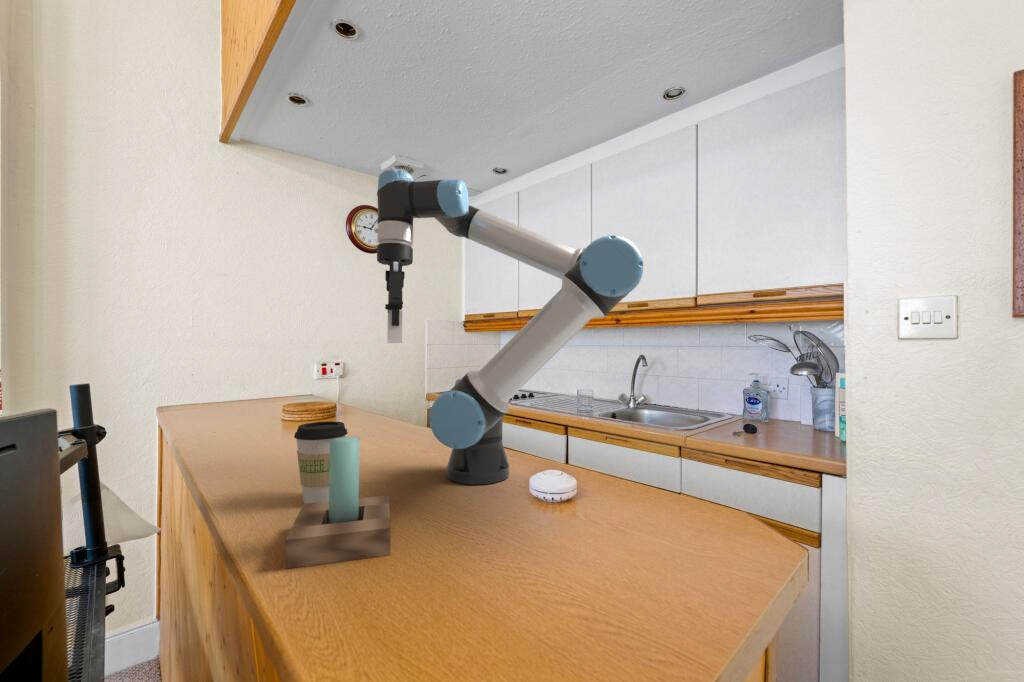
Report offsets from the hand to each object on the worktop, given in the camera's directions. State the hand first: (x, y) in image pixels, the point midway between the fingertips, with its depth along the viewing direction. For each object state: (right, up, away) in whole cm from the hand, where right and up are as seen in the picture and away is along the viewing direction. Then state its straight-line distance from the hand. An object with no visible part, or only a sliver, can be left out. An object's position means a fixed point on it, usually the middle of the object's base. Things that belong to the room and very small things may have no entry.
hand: (394, 343), depth 90 cm
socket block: (-1, -31, -24) cm, 39 cm away
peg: (-1, -31, -24) cm, 39 cm away
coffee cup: (-13, -32, -6) cm, 35 cm away
